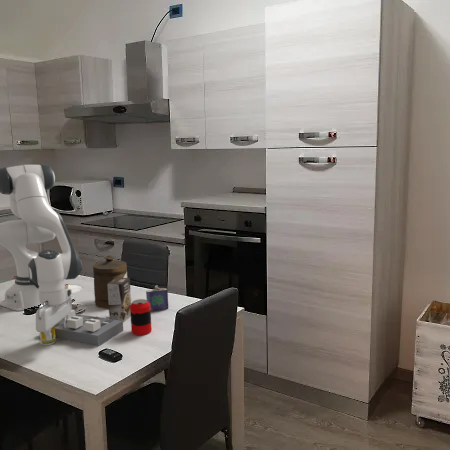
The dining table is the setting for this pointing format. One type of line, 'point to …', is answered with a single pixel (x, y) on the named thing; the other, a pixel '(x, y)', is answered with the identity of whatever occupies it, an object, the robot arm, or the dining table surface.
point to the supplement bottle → (43, 337)
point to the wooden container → (106, 278)
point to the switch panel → (88, 337)
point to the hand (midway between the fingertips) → (56, 334)
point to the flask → (157, 298)
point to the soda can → (140, 317)
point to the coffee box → (119, 299)
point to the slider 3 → (92, 325)
